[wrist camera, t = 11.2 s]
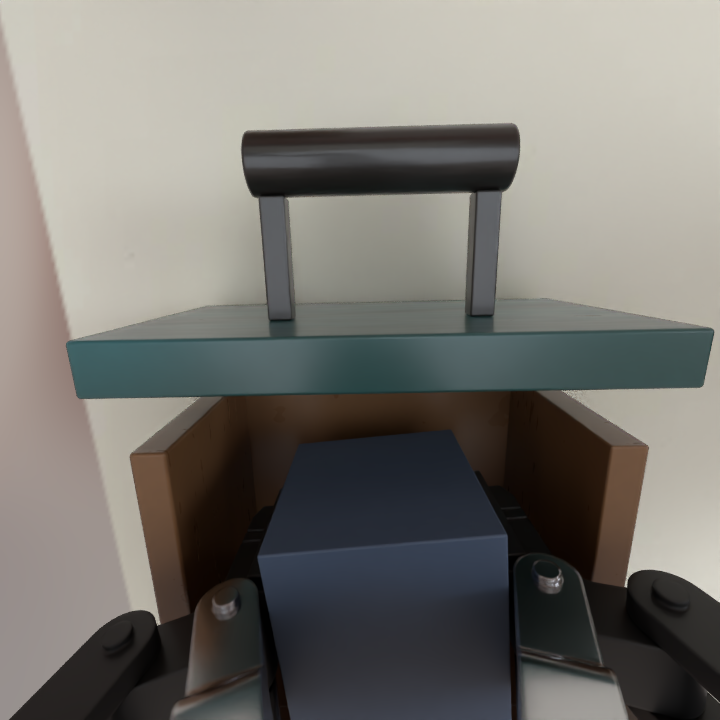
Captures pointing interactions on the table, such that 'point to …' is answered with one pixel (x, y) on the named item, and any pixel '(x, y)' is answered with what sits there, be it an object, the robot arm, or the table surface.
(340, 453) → the block
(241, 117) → the table surface
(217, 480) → the drawer
